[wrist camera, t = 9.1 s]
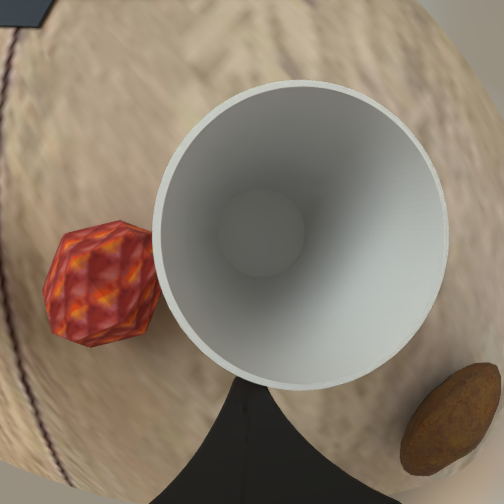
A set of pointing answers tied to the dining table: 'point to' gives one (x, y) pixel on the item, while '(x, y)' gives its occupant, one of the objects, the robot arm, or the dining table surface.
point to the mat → (23, 12)
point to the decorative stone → (102, 284)
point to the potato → (451, 420)
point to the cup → (300, 235)
